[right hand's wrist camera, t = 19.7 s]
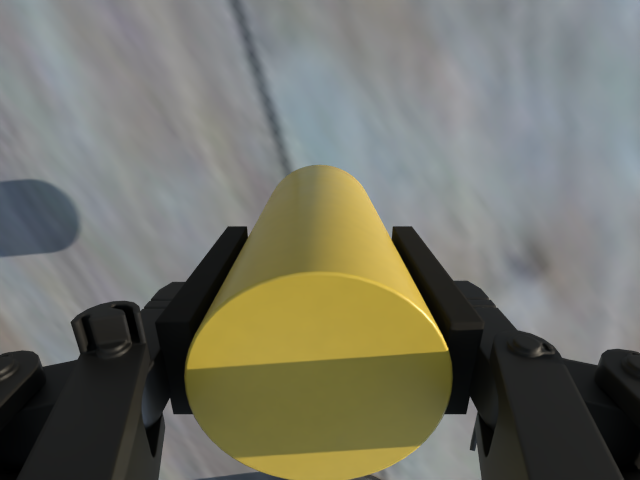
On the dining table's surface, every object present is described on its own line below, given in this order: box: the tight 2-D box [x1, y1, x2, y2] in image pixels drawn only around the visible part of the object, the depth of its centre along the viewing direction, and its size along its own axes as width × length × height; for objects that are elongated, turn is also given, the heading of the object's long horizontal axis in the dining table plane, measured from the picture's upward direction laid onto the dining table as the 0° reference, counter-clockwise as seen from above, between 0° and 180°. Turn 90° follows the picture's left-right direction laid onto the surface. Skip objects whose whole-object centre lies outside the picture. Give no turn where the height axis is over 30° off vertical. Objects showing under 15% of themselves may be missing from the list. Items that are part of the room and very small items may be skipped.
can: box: [184, 165, 453, 480], centre depth 13 cm, size 6×6×13 cm
